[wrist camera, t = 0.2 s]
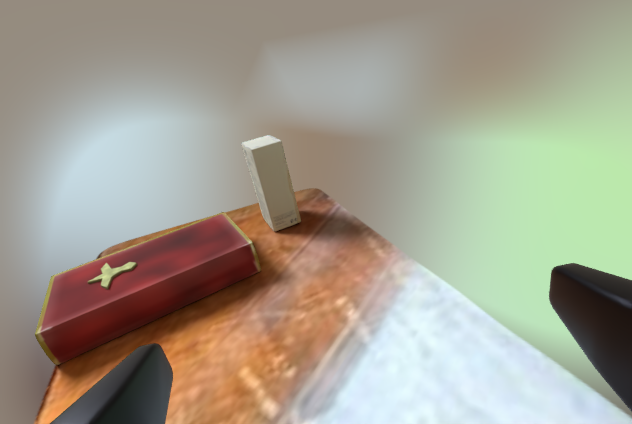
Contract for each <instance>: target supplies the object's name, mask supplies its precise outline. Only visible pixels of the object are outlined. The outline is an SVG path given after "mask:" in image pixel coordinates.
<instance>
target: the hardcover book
mask: <svg viewBox="0 0 632 424" xmlns="http://www.w3.org/2000/svg"><path fill="white" fill-rule="evenodd" d="M260 271H261V267H260V263H259V259H258V256H257V253H256V250H255V247H254V245H253V242H252V241H251V240H250V239H249V238H248V237H247V236H246V235H245V234H244V233H243V232H242V231H241V230H240V229H239V227H238V226H237V225H236V224H235V223H234V222H233V221H232V220H231V219H230V218H229V217H228V216H227V215H226V214H225V213H224V212H222V213H219V214H217V215H214V216H211V217H209V218H206V219H203V220H201V221H198V222H195V223H193V224H190V225H187V226H184V227H182V228H179V229H176V230H174V231H171V232H168V233H166V234H163V235H160V236H158V237H155V238H152V239H150V240H147V241H144V242H142V243H139V244H136V245H134V246H131V247H128V248H126V249H123V250H120V251H118V252H115V253H112V254H109V255H107V256H104V257H101V258H99V259H96V260H93V261H91V262H88V263H85V264H83V265H80V266H78V267H75V268H72V269H69V270H67V271H64V272H61V273H59V274H56V275H53V276H51V279H50V283H49V287H48V290H47V293H46V297H45V301H44V304H43V308H42V311H41V315H40V318H39V322H38V326H37V329H36V333H35V336H36V339H37V341H38V342H39V344H40V346H41V347H42V349H43V350H44V352H45V353H46V355H47V356H48V357H49V358H50V360H51V361H52V362H53V363H54V364H55V365H59V364H61V363H63V362H65V361H68V360H70V359H72V358H74V357H76V356H78V355H80V354H83V353H85V352H87V351H89V350H91V349H93V348H96V347H98V346H100V345H102V344H104V343H106V342H109V341H111V340H113V339H115V338H117V337H119V336H122V335H124V334H126V333H128V332H130V331H132V330H134V329H137V328H139V327H141V326H143V325H145V324H147V323H150V322H152V321H154V320H156V319H158V318H160V317H163V316H165V315H167V314H169V313H171V312H173V311H176V310H178V309H180V308H182V307H184V306H186V305H188V304H191V303H193V302H195V301H197V300H199V299H201V298H204V297H206V296H208V295H210V294H212V293H214V292H217V291H219V290H221V289H223V288H225V287H227V286H230V285H232V284H234V283H236V282H238V281H240V280H242V279H245V278H247V277H249V276H251V275H253V274H255V273H258V272H260Z"/></svg>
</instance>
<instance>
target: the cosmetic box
mask: <svg viewBox="0 0 632 424" xmlns="http://www.w3.org/2000/svg"><path fill="white" fill-rule="evenodd" d="M241 144H242V148H243V151H244V155H245V158H246V161H247V164H248V168H249V171H250V174H251V178H252V181H253V185H254V188H255V191H256V195H257V198H258V202H259V205H260V208H261V212H262V215H263V218H264V220H265V221H266V222H267V224H268V225H269V226H270V227H271V229H272V230H273V231H274V232H275V231H278V230H281V229H284V228H286V227H289V226H292V225H294V224H297V223H299V222H301V219H300V215H299V211H298V207H297V203H296V199H295V195H294V191H293V187H292V183H291V179H290V175H289V171H288V167H287V162H286V158H285V154H284V150H283V146H282V141H281V140H279V139H277V138H275V137H272V136H270V135H268V136H264V137H260V138H257V139H253V140H250V141H246V142H243V143H241Z"/></svg>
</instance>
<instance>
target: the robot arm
mask: <svg viewBox="0 0 632 424" xmlns="http://www.w3.org/2000/svg"><path fill="white" fill-rule="evenodd" d="M549 299H550V303H551V305H552V307H553V309H554V310H555V311H556V313H557V314H558V316H559V317H560V319H561V320H562V321H563V323H564V324H565V326H566V327H567V329H568V330H569V331H570V333H571V334H572V336H573V337H574V339H575V340H576V342H577V343H578V344H579V346H580V347H581V349H582V350H583V352H584V353H585V354H586V355H587V357H588V359H589V360H590V361H591V363H592V364H593V365H594V367H595V368H596V369H597V371H598V372H599V373H600V374H601V376H602V377H603V378H604V379H605V380H606V382H607V383H608V384H609V385H610V386H611V387H612V389H613V390H614V391H615V392H616V394H617V395H618V396H619V397H620V398H621V400H622V401H623V402H624V403H625V404H626V405H627V407H628V408H629V409H630V410H631V411H632V280H628V279H625V278H622V277H619V276H615V275H612V274H609V273H605V272H602V271H599V270H595V269H592V268H588V267H585V266H582V265H579V264H575V263H571V264H565V265H561V266H556V267H554V268H553V270H552V273H551V282H550V292H549ZM172 381H173V371H172V368H171V366H170V364H169V362H168V359H167V357H166V355H165V353H164V351H163V349H162V348H161V346H160V345H159V344H156V343H154V344H148V345H143V346H140V347H138V348H137V349H135V350H134V351H133V352H132V353H131V354H130V355H129V356H127V357H126V358H125V359H124V360H123V361H122V362H121V363H119V364H118V365H117V366H116V367H115V368H114V369H112V370H111V371H110V372H109V373H108V374H107V375H106V376H104V377H103V378H102V379H101V380H100V381H99V382H97V383H96V384H95V385H94V386H93V387H92V388H91V389H89V390H88V391H87V392H86V393H85V394H84V395H82V396H81V397H80V398H79V399H78V400H77V401H76V402H74V403H73V404H72V405H71V406H70V407H69V408H67V409H66V410H65V411H64V412H63V413H62V414H61V415H59V416H58V417H57V418H56V419H55V420H54V421H52V422H51V423H50V424H165V420H166V415H167V409H168V403H169V398H170V392H171V387H172Z"/></svg>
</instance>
